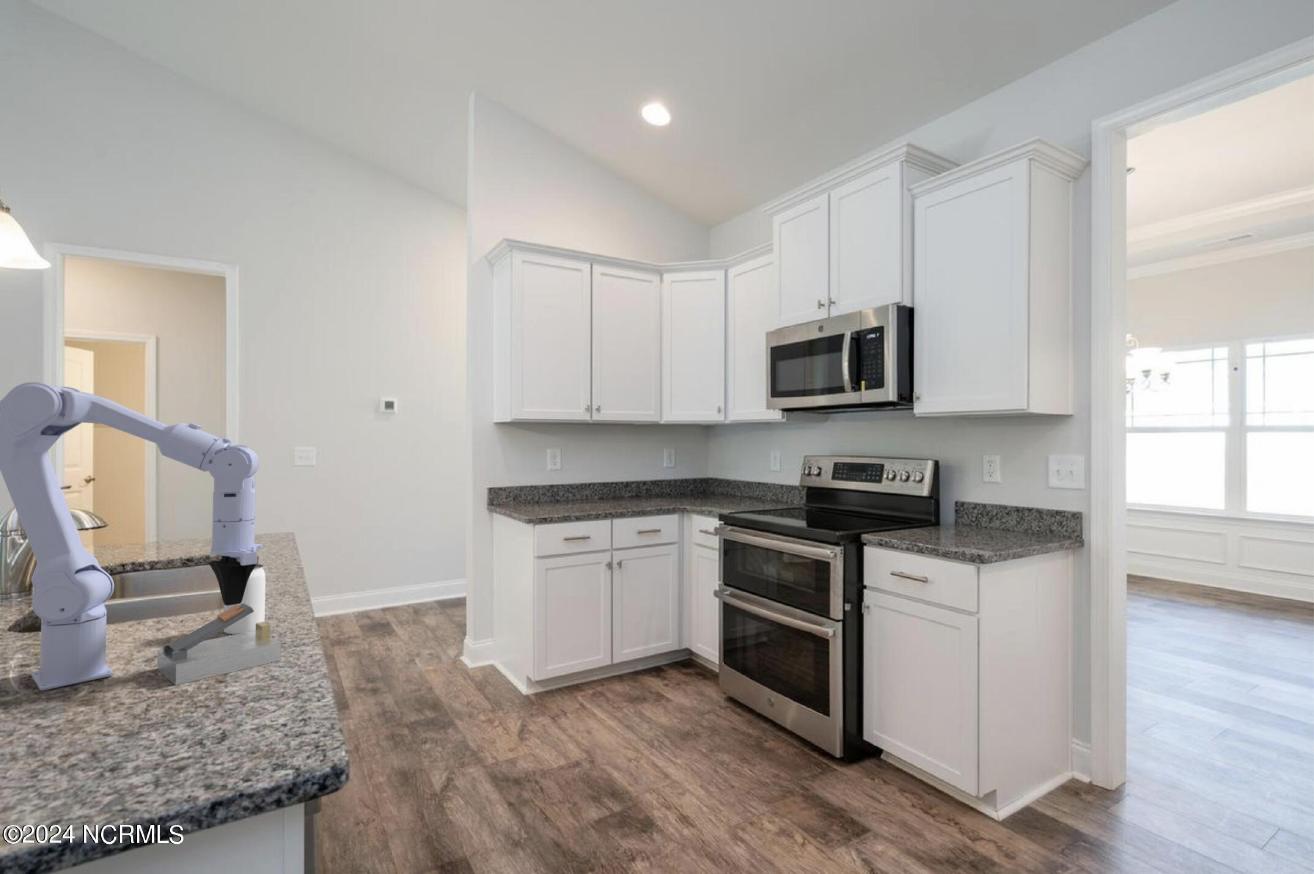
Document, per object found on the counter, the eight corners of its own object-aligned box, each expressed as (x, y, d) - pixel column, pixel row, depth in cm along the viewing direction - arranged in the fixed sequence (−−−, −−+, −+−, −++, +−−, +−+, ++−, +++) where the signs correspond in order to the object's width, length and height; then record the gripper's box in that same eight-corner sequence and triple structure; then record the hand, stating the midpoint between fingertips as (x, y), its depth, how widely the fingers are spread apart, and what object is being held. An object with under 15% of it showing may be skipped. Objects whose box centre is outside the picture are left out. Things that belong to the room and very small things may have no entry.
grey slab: (171, 649, 97) (166, 642, 96) (245, 607, 104) (241, 600, 104) (178, 655, 94) (173, 648, 94) (254, 611, 102) (250, 604, 101)
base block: (157, 669, 98) (158, 635, 98) (258, 647, 109) (258, 617, 109) (175, 685, 91) (176, 649, 91) (280, 660, 102) (281, 628, 102)
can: (249, 635, 115) (251, 570, 115) (215, 635, 115) (216, 569, 115) (272, 625, 122) (273, 563, 122) (239, 625, 122) (240, 563, 122)
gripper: (278, 521, 100) (277, 606, 100) (246, 514, 109) (244, 592, 109) (227, 525, 95) (225, 615, 94) (197, 517, 104) (196, 600, 104)
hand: (232, 603), depth 101 cm, fingers closed
